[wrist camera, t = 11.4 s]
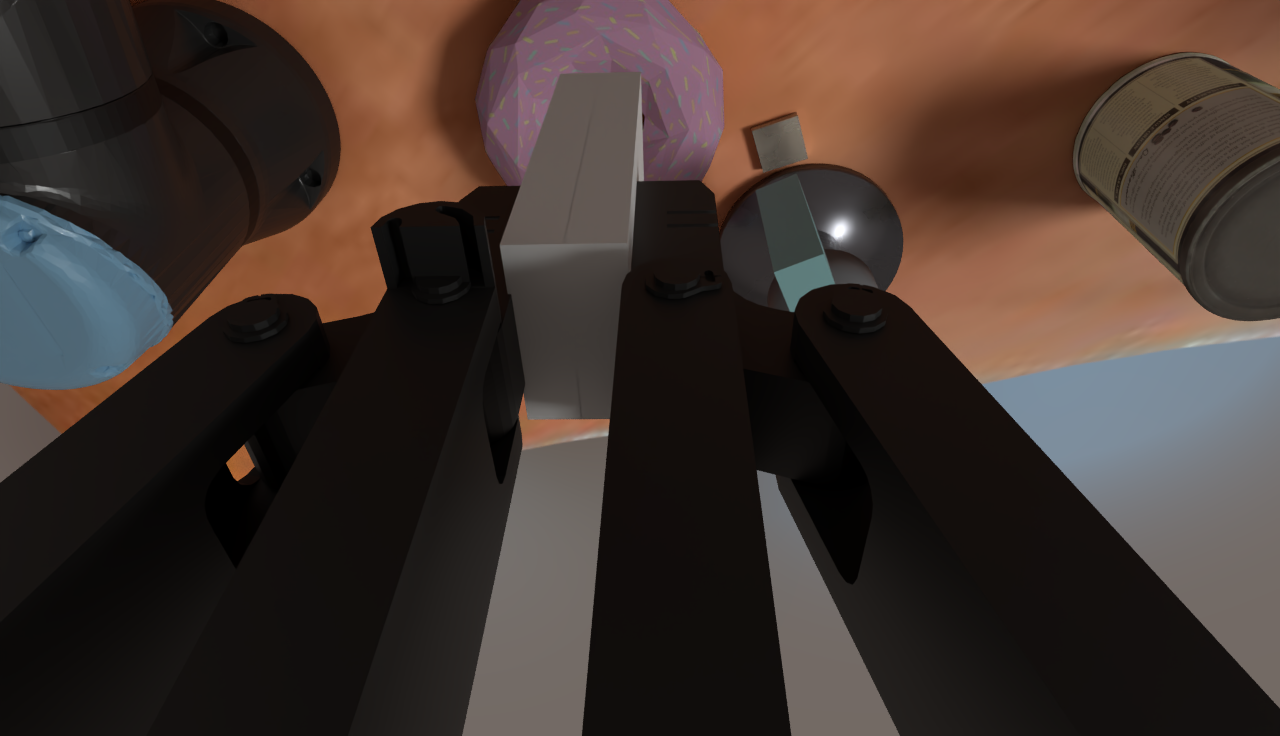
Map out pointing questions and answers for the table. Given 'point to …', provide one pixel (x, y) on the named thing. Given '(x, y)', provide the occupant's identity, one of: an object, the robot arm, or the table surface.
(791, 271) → the teal grey l-shaped block
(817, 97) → the table surface
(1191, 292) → the coffee can
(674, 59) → the donut
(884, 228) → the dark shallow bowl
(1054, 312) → the table surface
